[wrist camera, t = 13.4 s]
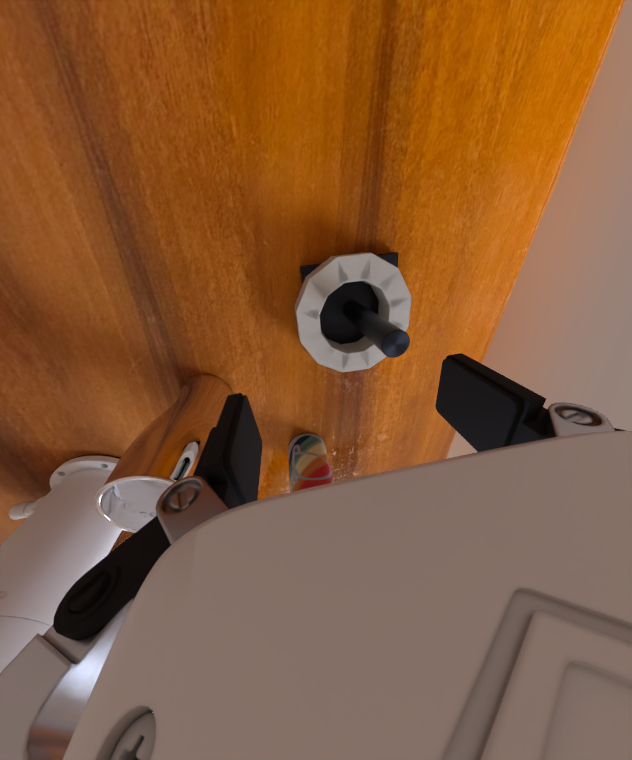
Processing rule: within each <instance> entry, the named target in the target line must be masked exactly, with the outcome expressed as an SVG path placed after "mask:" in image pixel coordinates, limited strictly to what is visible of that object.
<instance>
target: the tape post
mask: <svg viewBox="0 0 632 760" xmlns="http://www.w3.org/2000/svg"><path fill="white" fill-rule="evenodd" d="M376 256H378V257H380V258H381V259H383V260H385V261H387V262H388V263H390V264H392V265H394V266H395V267H397V268H398V252H393V253H386V254H379V255H376ZM321 264H322V263H320V264H313V265H307V266H300V272H301V279H302V285H303V283H304V280H305V278H306V276H307V275H308V274H310V273H311V272H312V271H313V270H315V269H316V268H317V267H318V266H320V265H321ZM378 307H379V300H378V298H377V296H376V294H375V293H374V291H373V289H372V287H371V285H369V284H367V283H365V282H363V281H356V282H348V283H344V284H342V285H341V286H340V287H339V288H337V289H336V290H335V291H333V292H332V293H331V294H330V295H328V297H327V299H326V301H325V303H324V306H323V308H322V310H321V312H320V326H321V331H322V333H323V334H324V336H325V337H326V338H327V339H329V340H332V341H334V342H336V343H339V344H346V343H353V342H357V341H358V340H360V339H361V338H363V337H364V336H366V337H367V338H368V339H369V340H370V341H371V342H372V343H373V344H374V345H375V346H376V347H377V348H378V349H379V350H380V351H381V352H382V353H384V354H385V355H386V356H388V357H398V356H400V355H402V354H403V353H404V352H405V351H406V350H407V348H408V346H409V342H410V340H409V336H408V334H407V333H406V332H405V331H403V330H402V329H400V328H398V327H397V326H395V325H394V324H392V323H390V322H389V321H387V320H386V319H384V318H382V317H381V316H379V315H378Z"/></svg>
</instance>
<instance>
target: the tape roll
mask: <svg viewBox="0 0 632 760" xmlns="http://www.w3.org/2000/svg"><path fill="white" fill-rule="evenodd" d="M356 281H363V282H365V283H367V284H369V285H371V287H372V289H373V291H374V293H375V294H376V296H377V298H378V300H379V307H378V315H379V316H381V317H382V318H384V319H386V320H387V321H389V322H390V323H392V324H394V325H395V326H397V327H398V328H400V329H402V330H403V331H405V332H406V330H407V328H408V325H409V316H410V306H411V295H410V292H409V290H408V288H407V286H406V284H405V281H404V279H403V277H402V275H401V273H400V270H399V269H398V268H397V267H395V266H394V265H392V264H390V263H388V262H387V261H385V260H383V259H381V258H380V257H378V256H376V255H374V254H373V253H356V254H347V255H338V256H331V257H329V258H328V259H327V260H326V261H324V262H323V263H322V264H321V265H320V266H318V267H317V268H316V269H315V270H313V271H312V272H311V273H310V274H308V275H307V276H306V278H305V280H304V283H303V285H302V288H301V290H300V293H299V295H298V298H297V300H296V303H295V312H296V320H297V327H298V334H299V338H300V342H301V344H302V345H303V346H304V347H305V348H306V350H307V351H308V352H309V353H310V355H311V356H312V357H313V358H314V360H315V361H316V362H317V363H318V364H321V365H323V366H326V367H329V368H332V369H334V370H337V371H340V372H348V371H355V370H362V369H368V368H370V367H372V366H373V365H375V364H376V363H378V362H379V361H381V360H382V359H384V358H385V357H387V356H386V355H385V354H384V353H382V352H381V351H380V350H379V349H378V348H377V347H376V346H375V345H374V344H373V343H372V342H371V341H370V340H369V339H368V338H367V337H366V336H364V337H363V338H361V339H360V340H358V341H357V342H353V343H346V344H339V343H336V342H334V341H332V340H329V339H327V338H326V337H325V336H324V334H323V333H322V331H321V326H320V312H321V310H322V308H323V306H324V303H325V301H326V299H327V297H328V295H330V294H331V293H332V292H333V291H335V290H336V289H337V288H339V287H340V286H341V285H342V284H344V283H348V282H356Z"/></svg>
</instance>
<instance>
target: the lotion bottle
mask: <svg viewBox="0 0 632 760" xmlns="http://www.w3.org/2000/svg"><path fill="white" fill-rule="evenodd" d="M289 478H290V492H293V491H298V490H302V489H306V488H311V487H315V486H320V485H324V484H329V483H334V482H333V477H332V473H331V468H330V464H329V460H328V455H327V451H326V447H325V444H324V441H323V440H322V438H321V437H319V436H318V435H315V434H311V433H306V434H301V435H299V436H297V437H295V438H294V439H293V440H292V441H291V443H290V445H289Z"/></svg>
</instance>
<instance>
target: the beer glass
mask: <svg viewBox="0 0 632 760" xmlns="http://www.w3.org/2000/svg"><path fill="white" fill-rule="evenodd" d="M228 395H232V391H231V389H230V387H229V386H228V385H227V384H226V383H225V382H224V381H223V380H221V379H220V378H217V377H215V376H211V375H197V376H194V377H192V378H190V379H188V380H187V381H186V382H185V383H184V385H183V387H182V389H181V392H180V395H179V397H178V399H177V401H176V402H175V403H174V404H173V405H172V406H171V407H169V408H168V409H167V410H166V411H165V412H163V413H162V414H161V415H160V416H158V417H157V418H156V419H155V420H154V421H153V422H151V423H150V424H149V425H148V426H147V427H146V428H145V429H144V430H143V431H142V432H141V433H140V434H139V435H138V437H137V438H136V439H135V440H134V441H133V442H132V443H131V445H130V446H129V447H128V449H127V450H126V451H125V453H124V454H123V456H122V457H121V458H120V460H119V461H118V463H117V464H116V466H115V467H114V469H113V470H112V472H111V473H110V475H109V477H108V478H107V480H106V481H105V483H104V484H103V486H102V487H101V488H100V490H99V491H98V492H97V494H96V496H95V499H94V506H95V509H96V511H97V513H98V514H99V515H100V517H101V518H102V519H104V520H105V521H106V522H108V523H109V524H111V525H113V526H115V527H117V528H119V529H122V530H125V531H129V532H133V533H136V532H137V531H138V530H140V529H141V528H142V527H143V526H145V525H146V524H147V523H148V522H149V521H151V520H152V519H153V518H154V517H156V516H157V515H156V510H155V508H156V504H157V501H158V499H159V498H160V496H161V494H162V493H163V492H164V491H165V490H166V489H167V488H168V487H169V486H171V485H172V484H173V483H175V482H176V481H178V480H180V479H182V478H185V477H187V476H193V473H194V471H195V468H196V466H197V463H198V461H199V458H200V456H201V453H202V451H203V448H204V446H205V443H206V441H207V438H208V436H209V433H210V431H211V429H212V428H213V427H216V425H217V423H218V420H219V417H220V415H221V412H222V409H223V407H224V404H225V401H226V399H227V396H228Z"/></svg>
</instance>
